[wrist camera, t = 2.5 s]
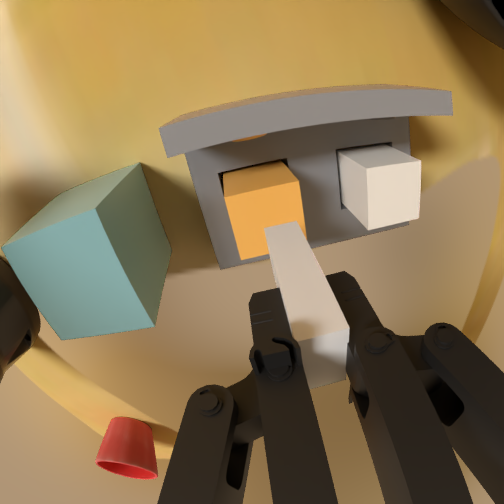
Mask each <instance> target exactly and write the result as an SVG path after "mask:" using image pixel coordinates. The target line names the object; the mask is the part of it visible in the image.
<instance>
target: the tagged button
mask: <svg viewBox="0 0 504 504" xmlns="http://www.w3.org/2000/svg"><path fill="white" fill-rule="evenodd" d="M223 183H224V199H225V203H226V206H227V210H228V214H229V218H230V221H231V225H232V229H233V232H234V236H235V240H236V243H237V247H238V251H239V255H240V258H241V260H244V259H249V258H253V257H257V256H262V255H266V254H269V250H268V245H267V241H266V236H265V231H264V228H267V227H271V226H276V225H280V224H285V223H289V222H294V221H297V223H298V224H299V226H300V228H301V230H302V232H303V234H304V236H305V238H306V240H307V237H306V229H305V221H304V213H303V206H302V199H301V192H300V185H299V181H298V179H297V178H296V177H295V176H294V175H293V173H292V172H291V171H290V170H289V169H288V168H287V166H286V165H285V164H284V163H283V162H282V161H281V160H279V161H274V162H269V163H264V164H260V165H255V166H250V167H246V168H242V169H237V170H233V171H229V172H225V173H223Z"/></svg>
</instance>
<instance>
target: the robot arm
mask: <svg viewBox="0 0 504 504" xmlns="http://www.w3.org/2000/svg"><path fill="white" fill-rule="evenodd" d="M264 231H265V236H266V241H267V245H268V250H269V255H270V260H271V265H272V270H273V275H274V279H275V283H276V286H277V288H275V289H271V290H266V291H262V292H257V293H253V295H252V297H251V299H250V302H249V311H250V319H251V325H252V326H251V327H252V334H253V342H254V345H253V347H252V348H251V350H250V355H249V360H250V362H251V365H252V368H253V370H252V371H251V373H250V374H249V375H248V376H247V377H246V378H245V379H243V380H241V381H240V382H238V383H236V384H234V385H231V386H230V387H228V388H224V387H223V386H219V385H206V386H204V387H202V388H199V389H197V390H196V391H195V392H194V393H193V394H192V395H191V397H190V399H189V400H188V402H187V406H186V409H185V412H184V415H183V419H182V422H181V425H180V429H179V432H178V435H177V439H176V442H175V445H174V449H173V452H172V455H171V459H170V462H169V466H168V469H167V472H166V476H165V479H164V483H163V486H162V489H161V493H160V496H159V500H158V503H157V504H242V503H243V498H244V492H245V487H246V481H247V476H248V470H249V464H250V457H251V452H252V446H253V441H254V440H256V439H258V438H260V437H262V436H264V442H265V450H266V457H267V464H268V471H269V478H270V485H271V492H272V499H273V504H338V501H337V497H336V493H335V489H334V484H333V480H332V476H331V472H330V468H329V464H328V460H327V456H326V452H325V448H324V444H323V440H322V436H321V432H320V428H319V425H318V420H317V416H316V413H315V409H314V405H313V401H312V398H311V394H310V390H309V389H313V388H316V387H321V386H325V385H328V384H332V383H335V382H339V381H342V380H346V372H347V375H348V377H349V380H350V383H351V384H350V391H349V404H350V403H352V401H353V402H354V405H355V408H356V411H357V413H358V417H359V419H360V423H361V425H362V429H363V432H364V435H365V438H366V441H367V444H368V447H369V451H370V454H371V457H372V460H373V463H374V466H375V470H376V473H377V476H378V480H379V483H380V487H381V490H382V493H383V497H384V501H385V504H473V502H472V499H471V496H470V493H469V490H468V487H467V484H466V482H465V479H464V476H463V474H462V471H461V468H460V466H459V463H458V461H457V458H456V456H455V453H454V451H453V449H454V450H455V451H456V453H457V454H458V455H459V456H460V458H461V459H462V460H463V462H464V463H465V464H466V465H467V467H468V468H469V469H470V471H471V472H472V473H473V475H474V476H475V477H476V478H477V480H478V481H479V482H480V484H481V485H482V486H483V488H484V489H485V490H486V492H487V493H488V494H489V496H490V497H491V499H492V500H493V501H494V503H495V504H504V373H503V372H502V371H501V370H500V369H499V368H498V367H497V366H496V365H495V364H494V363H493V362H492V361H491V360H490V359H489V358H488V357H487V356H486V355H485V354H484V353H483V352H482V351H481V350H480V349H479V348H478V347H477V346H476V345H475V344H474V343H472V342H471V341H470V340H469V339H468V338H467V337H466V336H465V335H464V334H463V333H462V332H461V331H459V330H458V329H457V328H456V327H454V326H453V325H451V324H447V323H436V324H434V325H432V326H430V327H429V328H428V329H427V330H426V332H425V335H419V336H399V335H395V334H394V333H393V331H391V330H389V329H387V328H384V327H383V325H382V324H381V322H380V321H379V319H378V317H377V315H376V313H375V312H374V310H373V308H372V306H371V305H370V303H369V302H368V300H367V298H366V297H365V295H364V293H363V291H362V290H361V289H360V286H359V285H358V283H357V281H356V280H355V278H354V277H353V276H351V275H350V274H348V273H347V272H345V271H342V272H338V273H335V274H331V275H327V276H325V275H324V273H323V271H322V269H321V267H320V265H319V263H318V261H317V259H316V257H315V255H314V253H313V251H312V249H311V247H310V245H309V244H308V242H307V240H306V238H305V236H304V234H303V232H302V230H301V228H300V226H299V224H298V223H297V221H294V222H289V223H285V224H280V225H276V226H271V227H267V228H264ZM39 331H40V316H39V312H38V309H37V307H36V305H35V304H34V302H33V301H32V299H31V298H30V296H29V294H28V293H27V291H26V290H25V288H24V287H23V285H22V283H21V282H20V280H19V279H18V277H17V275H16V274H15V272H14V271H13V270H12V269H11V268H10V267H9V266H8V265H7V264H6V263H5V262H4V261H3V260H2V259H0V382H1V380H2V378H3V375H4V373H5V372H6V371H7V370H8V369H9V368H10V367H11V366H12V365H13V364H14V363H15V362H16V361H17V360H18V359H19V358H20V357H21V356H22V355H23V354H25V353H26V352H27V351H28V350H29V349H30V348H31V347H32V345H33V344H34V342H35V339H36V337H37V335H38V333H39ZM452 447H453V449H452Z"/></svg>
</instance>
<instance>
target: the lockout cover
mask: <svg viewBox="0 0 504 504" xmlns="http://www.w3.org/2000/svg"><path fill="white" fill-rule="evenodd" d="M1 248H2V250H3V252H4V254H5V256H6V258H7V259H8V261H9V263H10V265H11V267H12V268H13V270H14V272H15V274H16V275H17V277H18V279H19V280H20V282H21V283H22V285H23V287H24V288H25V290H26V291H27V293H28V294H29V296H30V298H31V299H32V301H33V302H34V304H35V305H36V306H37V308H38V309H39V311H40V312H41V314H42V315H43V316H44V318H45V319H46V320H47V322H48V323H49V325H50V326H51V327H52V329H53V330H54V331H55V333H56V334H57V335H58V336H59V338H60V339H61V340H67V339H76V338H84V337H91V336H99V335H106V334H112V333H119V332H126V331H132V330H138V329H144V328H151V327H155V323H156V319H157V314H158V309H159V304H160V300H161V295H162V290H163V286H164V282H165V277H166V273H167V269H168V265H169V260H170V256H171V252H172V249H171V247H170V244H169V242H168V239H167V236H166V234H165V231H164V229H163V226H162V223H161V221H160V218H159V215H158V213H157V210H156V207H155V204H154V202H153V199H152V196H151V193H150V190H149V187H148V185H147V182H146V179H145V176H144V173H143V170H142V167H141V164H140V163H137V164H134V165H131V166H128V167H125V168H122V169H120V170H117V171H114V172H112V173H109V174H106V175H104V176H101V177H99V178H96V179H93V180H91V181H89V182H86V183H84V184H81V185H79V186H77V187H74V188H72V189H70V190H67V191H65V192H63V193H61V194H59V195H58V196H57V197H55V198H54V199H53V200H52V201H51V202H49V203H48V204H47V205H46V206H45V207H44V208H42V209H41V210H40V211H39V212H38V213H37V214H36V215H34V216H33V217H32V218H31V219H30V220H29V221H28V222H27V223H26V224H25V225H23V226H22V227H21V228H20V229H19V230H18V231H17V232H16V233H15V234H14V235H13V236H12V237H11V238H10V239H9V240H8V241H7V242H6V243H5V244H4V245H3V246H2V247H1Z"/></svg>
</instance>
